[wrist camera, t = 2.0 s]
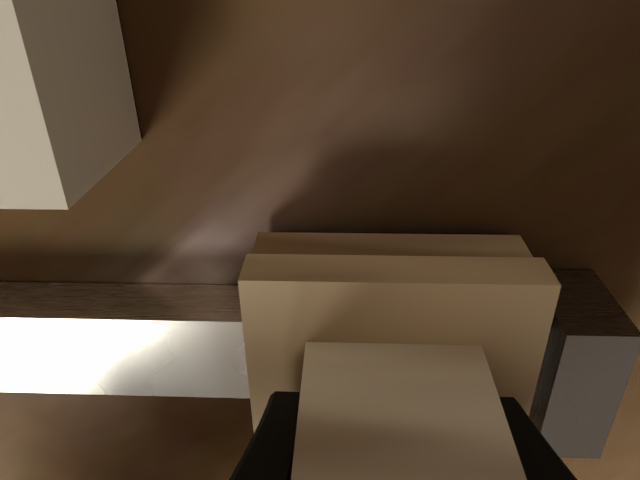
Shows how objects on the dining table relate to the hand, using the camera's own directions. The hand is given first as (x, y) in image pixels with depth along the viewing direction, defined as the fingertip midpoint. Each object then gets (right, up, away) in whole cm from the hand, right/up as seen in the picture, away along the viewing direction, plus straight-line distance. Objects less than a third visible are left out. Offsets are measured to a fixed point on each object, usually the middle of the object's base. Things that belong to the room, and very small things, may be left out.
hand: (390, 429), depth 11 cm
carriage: (0, +2, +3) cm, 3 cm away
